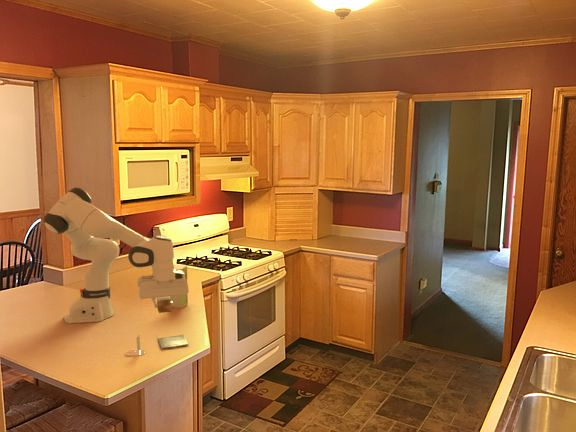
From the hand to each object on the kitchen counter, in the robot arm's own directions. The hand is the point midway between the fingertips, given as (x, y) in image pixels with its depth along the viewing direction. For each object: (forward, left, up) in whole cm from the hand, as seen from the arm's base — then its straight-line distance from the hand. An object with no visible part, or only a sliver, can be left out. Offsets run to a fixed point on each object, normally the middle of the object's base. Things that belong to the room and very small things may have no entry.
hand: (164, 306), depth 207 cm
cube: (0, 0, -2) cm, 2 cm away
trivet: (+3, 0, -17) cm, 17 cm away
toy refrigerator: (+15, +48, -17) cm, 53 cm away
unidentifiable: (-13, -5, -17) cm, 22 cm away
